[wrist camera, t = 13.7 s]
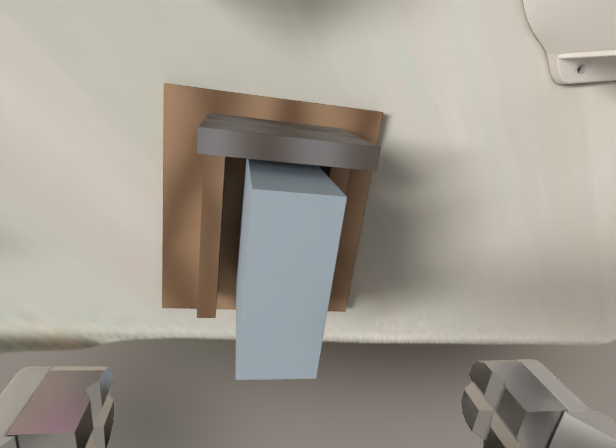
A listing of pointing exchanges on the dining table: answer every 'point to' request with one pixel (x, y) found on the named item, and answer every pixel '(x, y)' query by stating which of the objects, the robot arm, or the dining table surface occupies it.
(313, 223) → the book
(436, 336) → the dining table surface
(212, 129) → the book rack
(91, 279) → the dining table surface
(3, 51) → the dining table surface
